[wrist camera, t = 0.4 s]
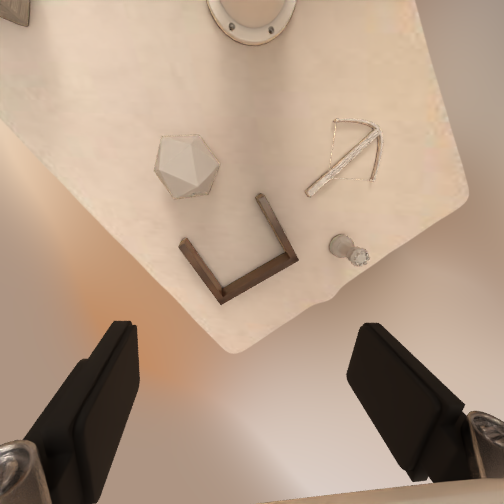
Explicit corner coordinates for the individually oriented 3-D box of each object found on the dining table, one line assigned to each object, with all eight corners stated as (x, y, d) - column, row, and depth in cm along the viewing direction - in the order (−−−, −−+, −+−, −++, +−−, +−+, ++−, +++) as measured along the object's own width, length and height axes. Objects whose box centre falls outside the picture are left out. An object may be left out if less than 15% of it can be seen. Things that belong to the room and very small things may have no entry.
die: (152, 179, 39) (168, 217, 34) (143, 121, 33) (162, 157, 27) (202, 173, 43) (224, 207, 38) (203, 120, 36) (230, 152, 31)
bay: (181, 241, 43) (178, 246, 39) (260, 193, 42) (264, 195, 39) (220, 295, 47) (220, 305, 44) (293, 254, 46) (299, 260, 43)
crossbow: (356, 98, 40) (364, 94, 38) (391, 160, 44) (399, 159, 42) (284, 165, 41) (288, 164, 39) (325, 220, 45) (330, 221, 43)
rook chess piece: (324, 242, 47) (345, 256, 39) (344, 229, 46) (369, 241, 39) (334, 259, 48) (355, 276, 41) (353, 247, 48) (378, 262, 40)
